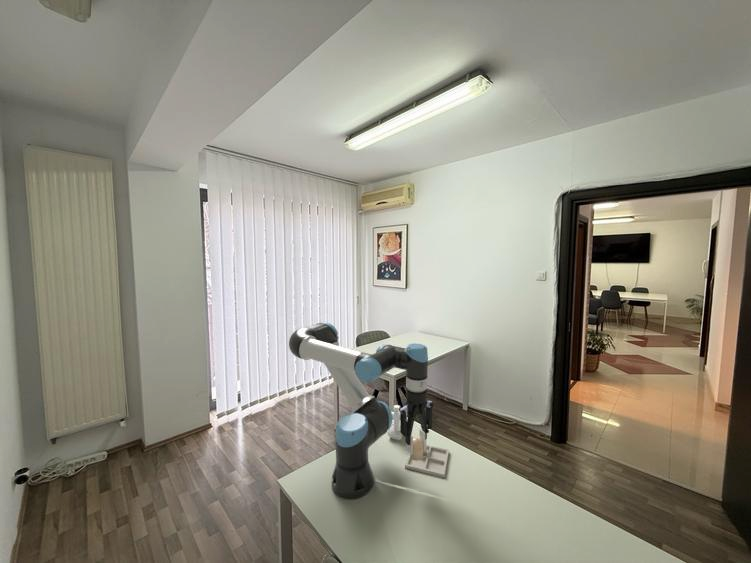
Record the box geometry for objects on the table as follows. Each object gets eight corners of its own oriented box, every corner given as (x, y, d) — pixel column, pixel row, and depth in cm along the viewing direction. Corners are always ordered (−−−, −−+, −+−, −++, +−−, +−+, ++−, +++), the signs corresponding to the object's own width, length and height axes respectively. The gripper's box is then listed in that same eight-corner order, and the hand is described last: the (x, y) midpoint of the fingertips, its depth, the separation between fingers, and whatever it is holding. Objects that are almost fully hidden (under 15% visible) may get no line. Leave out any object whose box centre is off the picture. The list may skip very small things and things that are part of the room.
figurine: (390, 431, 138) (389, 400, 137) (409, 435, 135) (409, 404, 133) (384, 439, 132) (384, 407, 131) (404, 444, 128) (404, 412, 127)
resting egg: (414, 454, 121) (414, 439, 120) (416, 447, 125) (416, 432, 124) (425, 457, 119) (425, 441, 118) (427, 450, 123) (427, 434, 123)
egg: (408, 458, 105) (408, 440, 104) (411, 451, 109) (411, 433, 108) (421, 461, 103) (421, 443, 103) (424, 453, 107) (424, 436, 107)
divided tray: (404, 469, 113) (404, 465, 113) (413, 446, 127) (413, 441, 127) (444, 479, 108) (444, 474, 108) (448, 454, 122) (448, 449, 122)
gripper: (400, 397, 97) (400, 463, 99) (443, 387, 104) (442, 449, 106) (389, 388, 104) (389, 450, 106) (430, 379, 111) (430, 437, 113)
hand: (416, 449), depth 106 cm, fingers closed on egg, 4 cm apart
